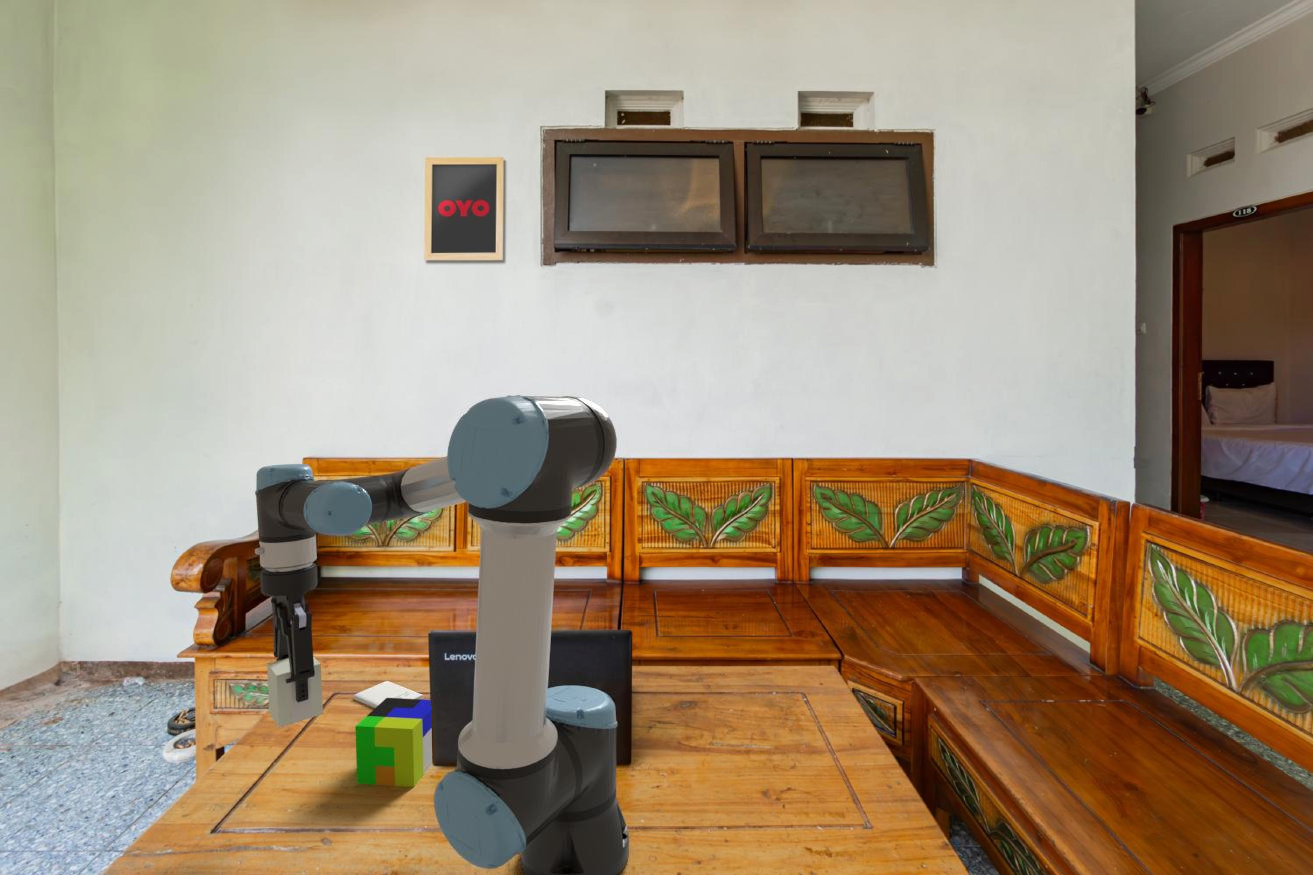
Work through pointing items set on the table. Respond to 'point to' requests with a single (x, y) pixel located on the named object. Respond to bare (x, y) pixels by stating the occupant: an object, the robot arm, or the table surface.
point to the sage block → (281, 694)
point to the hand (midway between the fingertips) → (295, 711)
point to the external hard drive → (385, 694)
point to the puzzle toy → (395, 743)
